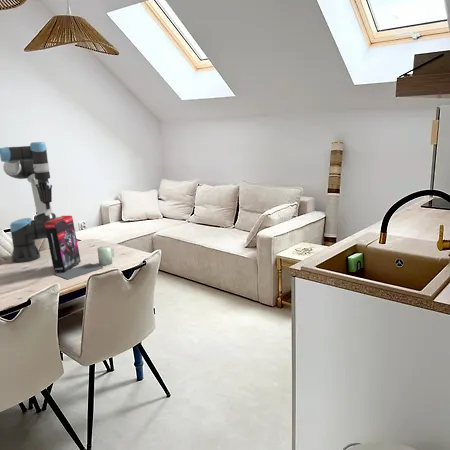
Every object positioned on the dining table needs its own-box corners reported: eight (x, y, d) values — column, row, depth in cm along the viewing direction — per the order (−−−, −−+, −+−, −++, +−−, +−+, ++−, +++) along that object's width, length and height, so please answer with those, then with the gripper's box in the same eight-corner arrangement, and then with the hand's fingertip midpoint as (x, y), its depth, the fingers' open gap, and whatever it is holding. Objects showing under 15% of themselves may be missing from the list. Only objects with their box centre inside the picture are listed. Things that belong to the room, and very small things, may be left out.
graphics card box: (64, 272, 220) (55, 221, 215) (52, 273, 222) (43, 222, 216) (81, 262, 237) (73, 214, 231) (70, 262, 238) (62, 215, 232)
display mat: (54, 274, 219) (54, 274, 219) (89, 263, 235) (89, 263, 235) (67, 279, 211) (67, 279, 211) (103, 267, 227) (103, 267, 227)
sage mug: (96, 264, 233) (94, 248, 231) (110, 259, 240) (108, 244, 238) (104, 266, 229) (102, 250, 227) (118, 261, 236) (116, 246, 234)
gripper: (28, 171, 227) (35, 215, 232) (41, 172, 218) (47, 217, 224) (42, 170, 232) (48, 212, 238) (54, 171, 224) (60, 214, 229)
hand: (48, 214), depth 231 cm, fingers closed
